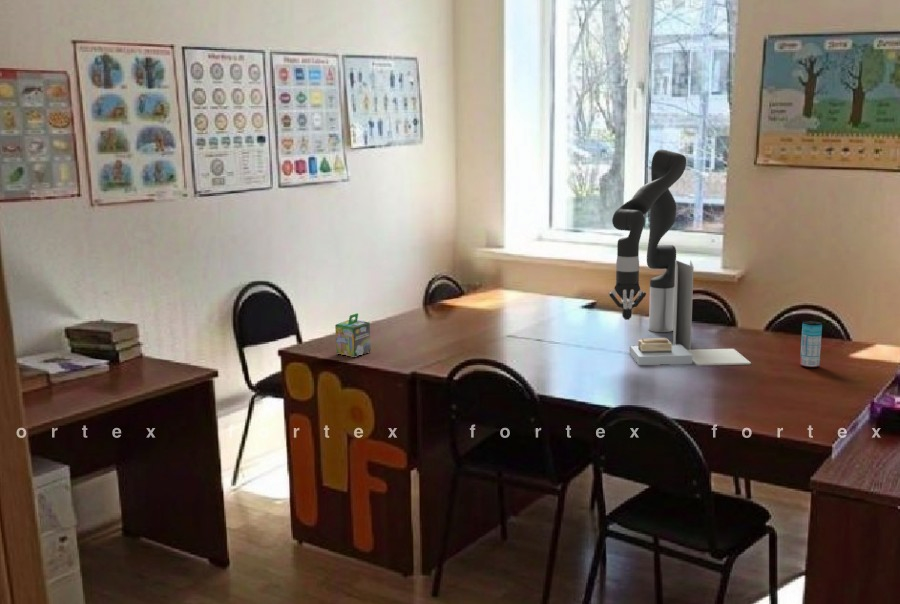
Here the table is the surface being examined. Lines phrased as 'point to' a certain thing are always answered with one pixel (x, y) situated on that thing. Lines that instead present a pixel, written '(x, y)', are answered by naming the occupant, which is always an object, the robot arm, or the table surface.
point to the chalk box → (353, 337)
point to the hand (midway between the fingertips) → (626, 319)
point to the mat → (717, 357)
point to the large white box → (662, 356)
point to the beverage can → (811, 343)
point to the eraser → (655, 345)
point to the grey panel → (683, 304)
